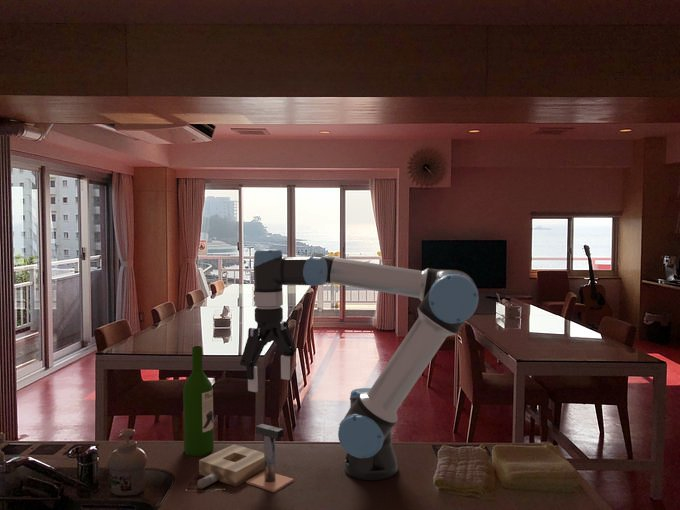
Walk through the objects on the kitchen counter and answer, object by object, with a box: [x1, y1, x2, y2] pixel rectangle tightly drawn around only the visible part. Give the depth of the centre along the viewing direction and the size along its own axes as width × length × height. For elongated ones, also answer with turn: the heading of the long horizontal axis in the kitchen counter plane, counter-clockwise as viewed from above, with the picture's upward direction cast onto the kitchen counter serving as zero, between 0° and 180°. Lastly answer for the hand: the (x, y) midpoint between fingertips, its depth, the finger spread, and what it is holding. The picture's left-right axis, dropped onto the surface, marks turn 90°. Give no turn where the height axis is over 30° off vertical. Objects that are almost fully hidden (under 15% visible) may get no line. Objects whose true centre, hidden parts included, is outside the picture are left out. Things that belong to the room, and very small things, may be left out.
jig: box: [197, 444, 264, 490], centre depth 160 cm, size 14×20×4 cm
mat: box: [245, 471, 294, 493], centre depth 156 cm, size 10×8×1 cm
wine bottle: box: [182, 345, 214, 457], centre depth 177 cm, size 9×9×32 cm
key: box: [255, 423, 284, 482], centre depth 155 cm, size 3×8×14 cm, turn 57°
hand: (269, 385), depth 154 cm, fingers open, 13 cm apart
